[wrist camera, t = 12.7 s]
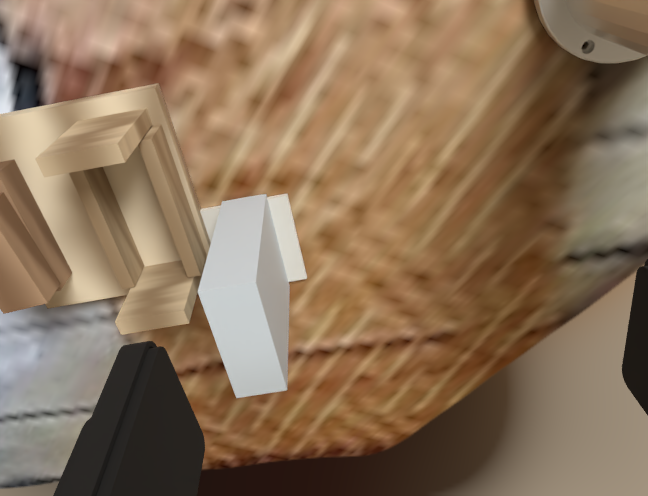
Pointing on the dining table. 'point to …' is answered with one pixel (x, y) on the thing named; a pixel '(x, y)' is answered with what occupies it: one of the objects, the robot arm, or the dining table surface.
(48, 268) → the offcut top
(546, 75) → the dining table surface
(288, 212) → the felt pad
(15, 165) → the block
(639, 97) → the dining table surface
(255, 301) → the white rectangular block
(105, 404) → the robot arm
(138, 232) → the rack
